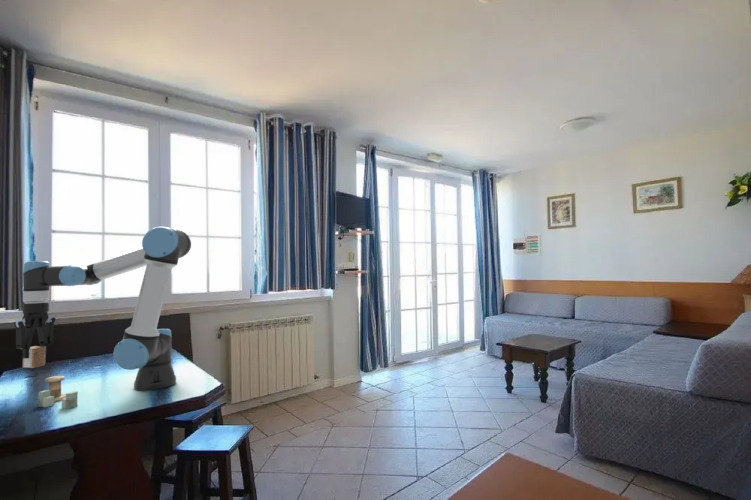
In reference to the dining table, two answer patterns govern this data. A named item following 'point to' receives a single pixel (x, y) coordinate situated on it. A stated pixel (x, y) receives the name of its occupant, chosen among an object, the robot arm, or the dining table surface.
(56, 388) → the bobbin
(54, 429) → the dining table surface
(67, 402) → the pair of stepped blocks
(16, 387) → the dining table surface
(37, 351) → the tan tall block
